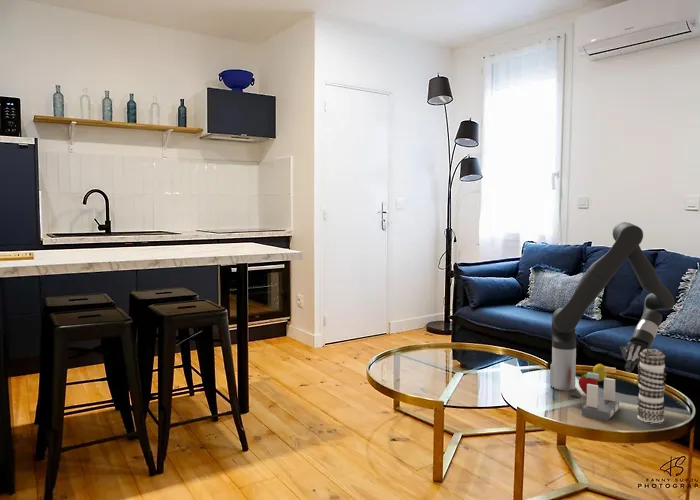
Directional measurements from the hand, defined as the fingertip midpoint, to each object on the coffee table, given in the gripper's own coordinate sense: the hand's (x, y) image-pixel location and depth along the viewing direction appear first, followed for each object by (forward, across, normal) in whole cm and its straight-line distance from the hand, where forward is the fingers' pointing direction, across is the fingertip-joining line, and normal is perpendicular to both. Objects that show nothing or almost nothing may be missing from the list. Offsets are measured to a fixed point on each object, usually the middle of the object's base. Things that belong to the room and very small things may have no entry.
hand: (627, 370), depth 218 cm
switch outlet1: (+23, -1, -9) cm, 25 cm away
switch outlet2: (+15, -1, -2) cm, 15 cm away
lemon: (-1, -20, +19) cm, 27 cm away
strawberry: (+12, -14, +6) cm, 19 cm away
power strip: (+20, -1, -2) cm, 20 cm away
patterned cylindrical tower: (+16, +14, +2) cm, 21 cm away
